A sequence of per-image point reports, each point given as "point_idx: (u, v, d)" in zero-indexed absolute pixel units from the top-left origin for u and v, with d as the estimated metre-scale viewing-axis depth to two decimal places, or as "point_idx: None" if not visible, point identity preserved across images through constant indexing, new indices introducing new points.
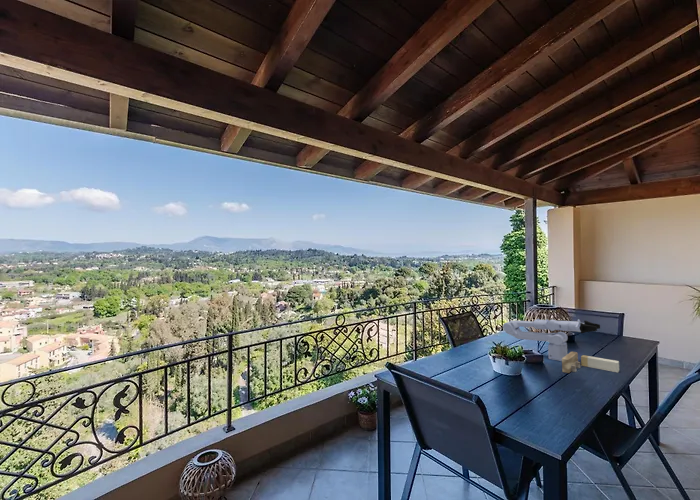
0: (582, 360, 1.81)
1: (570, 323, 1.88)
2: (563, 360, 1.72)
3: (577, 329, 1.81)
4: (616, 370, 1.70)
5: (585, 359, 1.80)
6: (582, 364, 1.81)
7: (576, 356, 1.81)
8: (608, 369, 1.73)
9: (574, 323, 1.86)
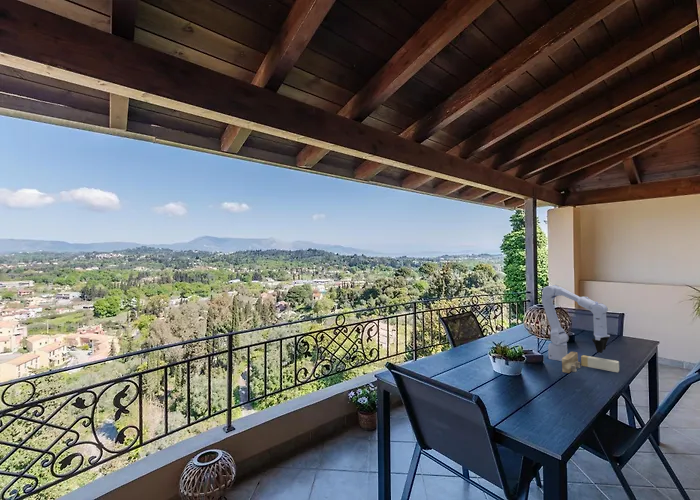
0: (582, 360, 1.81)
1: (603, 329, 1.74)
2: (563, 360, 1.72)
3: (596, 338, 1.72)
4: (616, 370, 1.70)
5: (585, 359, 1.80)
6: (582, 364, 1.81)
7: (576, 356, 1.81)
8: (608, 369, 1.73)
9: (604, 332, 1.74)
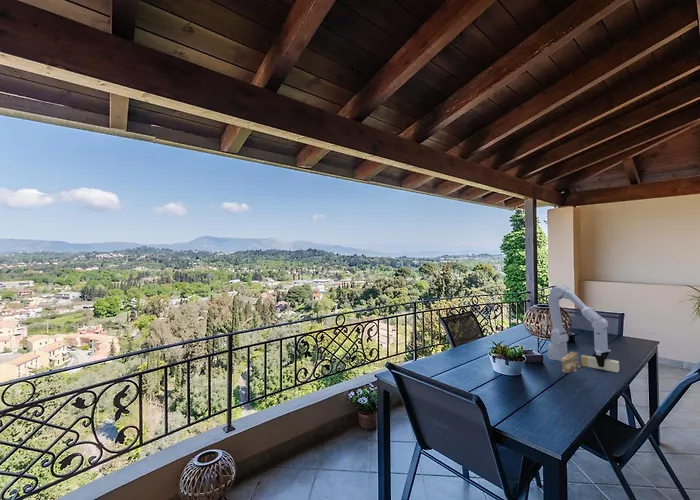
0: (582, 360, 1.81)
1: (604, 343, 1.74)
2: (563, 360, 1.72)
3: (597, 353, 1.72)
4: (616, 370, 1.70)
5: (585, 359, 1.80)
6: (582, 364, 1.81)
7: (576, 356, 1.81)
8: (608, 369, 1.73)
9: (604, 347, 1.74)
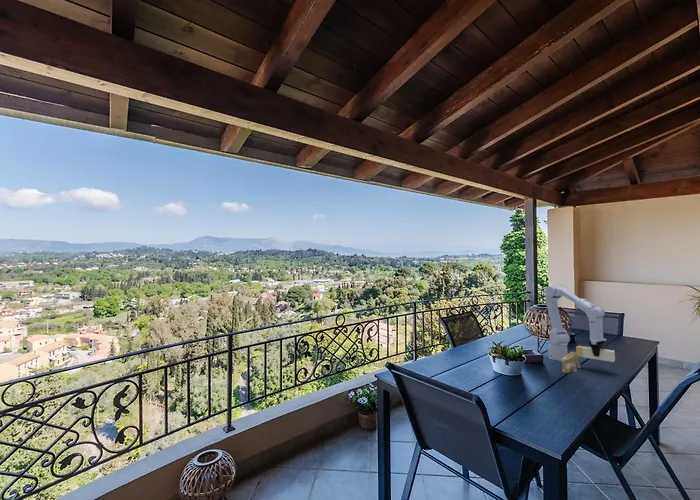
0: (577, 350, 1.77)
1: (599, 332, 1.70)
2: (563, 360, 1.72)
3: (592, 342, 1.68)
4: (612, 359, 1.66)
5: (580, 349, 1.76)
6: (577, 355, 1.77)
7: (576, 356, 1.81)
8: (604, 359, 1.69)
9: (600, 336, 1.70)
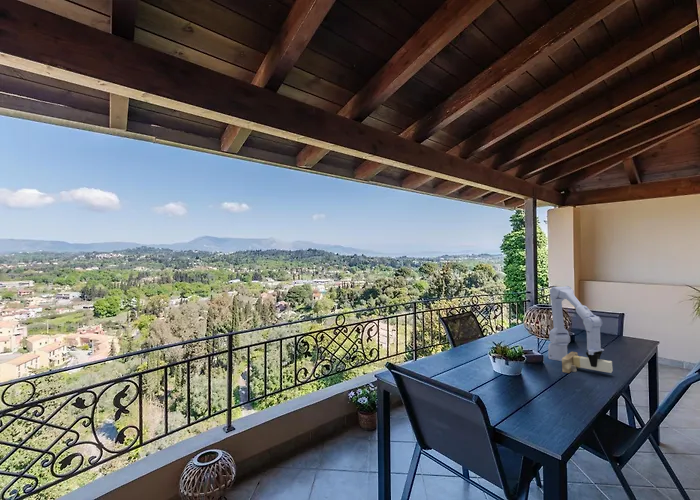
0: (574, 361, 1.75)
1: (597, 342, 1.67)
2: (563, 360, 1.72)
3: (589, 352, 1.65)
4: (609, 370, 1.64)
5: (577, 359, 1.74)
6: None
7: None
8: (601, 370, 1.66)
9: (597, 346, 1.67)
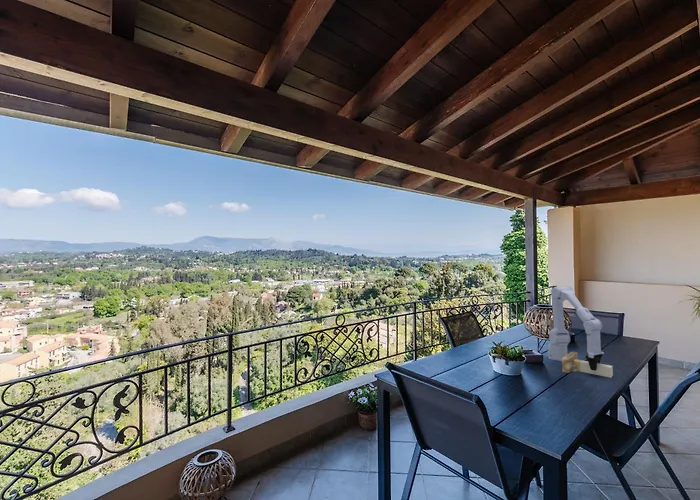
0: (574, 364, 1.75)
1: (597, 345, 1.67)
2: (563, 360, 1.72)
3: (589, 355, 1.65)
4: (609, 375, 1.63)
5: (578, 363, 1.73)
6: None
7: (576, 356, 1.81)
8: (601, 374, 1.66)
9: (597, 349, 1.67)
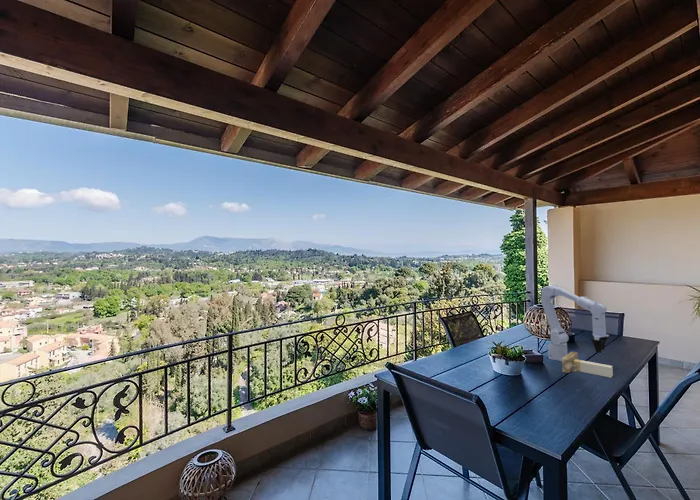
0: (574, 364, 1.75)
1: (602, 328, 1.74)
2: (563, 360, 1.72)
3: (595, 338, 1.72)
4: (609, 375, 1.63)
5: (578, 363, 1.74)
6: None
7: (576, 356, 1.81)
8: (601, 374, 1.66)
9: (602, 332, 1.74)
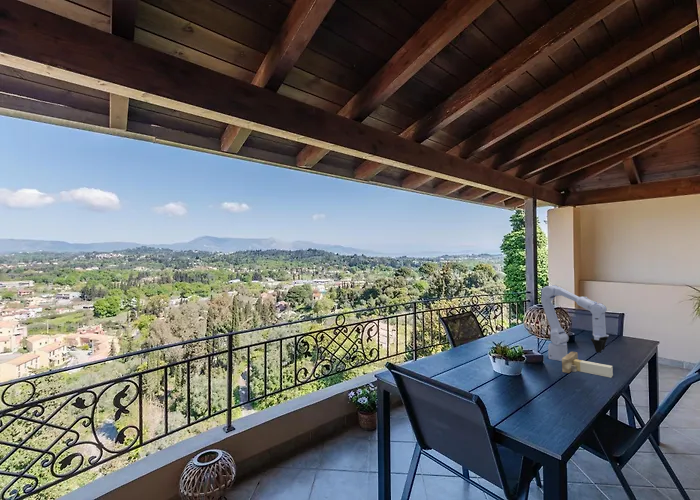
0: (574, 364, 1.75)
1: (602, 328, 1.74)
2: (563, 360, 1.72)
3: (595, 338, 1.72)
4: (609, 375, 1.63)
5: (578, 363, 1.73)
6: None
7: (576, 356, 1.81)
8: (601, 374, 1.66)
9: (603, 332, 1.74)
